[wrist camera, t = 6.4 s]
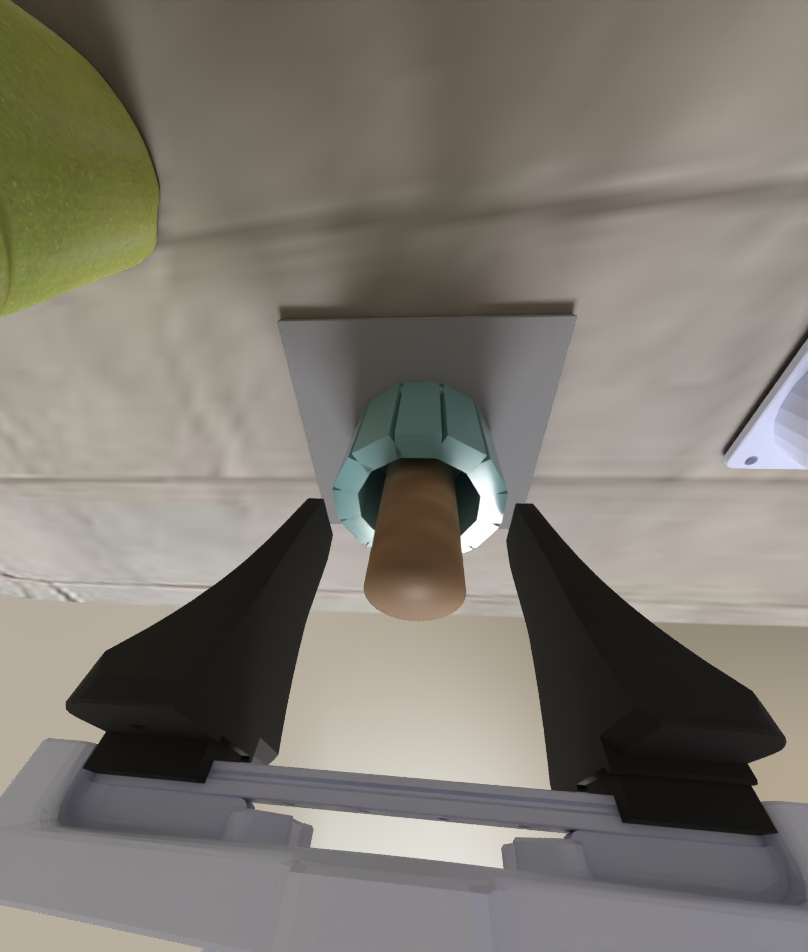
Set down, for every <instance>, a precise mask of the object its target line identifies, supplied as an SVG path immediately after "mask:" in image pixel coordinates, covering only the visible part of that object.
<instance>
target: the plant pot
mask: <svg viewBox="0 0 808 952" xmlns="http://www.w3.org/2000/svg"><path fill="white" fill-rule="evenodd" d="M159 197H160V193H159V186H158V182H157V178H156V174H155V171H154V168H153V165H152V162H151V159H150V156H149V154H148V151H147V149H146V146H145V144H144V142H143V139H142V138H141V136H140V134H139V132H138V130H137V128H136V126H135V124H134V122H133V120H132V119H131V117H130V115H129V114H128V112H127V111H126V109H125V108H124V106H123V104H122V103H121V101H120V100H119V99H118V97H117V96H116V95H115V93H114V92H113V90H112V89H111V88H110V86H109V85H108V84H107V83H106V81H105V80H104V79H103V78H102V77H101V75H100V74H99V73H98V72H97V71H96V69H95V68H94V67H93V66H92V65H91V64H90V63H89V62H88V61H87V60H86V59H85V58H84V57H83V56H82V55H80V54H79V53H78V52H77V51H76V50H75V49H74V48H73V47H71V46H70V45H69V44H68V43H67V42H66V41H65V40H63V39H62V38H61V37H59V36H58V35H57V34H56V33H54V32H53V31H52V30H51V29H49V28H48V27H46V26H45V25H44V24H42V23H41V22H40V21H38V20H37V19H36V18H34V17H33V16H31V15H30V14H29V13H27V12H26V11H25V10H23V9H22V8H20V7H19V6H18V5H16V4H15V3H13V2H12V1H11V0H0V318H1V317H4V316H7V315H9V314H12V313H14V312H17V311H19V310H22V309H25V308H27V307H30V306H32V305H35V304H38V303H40V302H43V301H45V300H48V299H51V298H53V297H56V296H58V295H60V294H63V293H65V292H68V291H71V290H73V289H76V288H78V287H81V286H84V285H86V284H89V283H91V282H94V281H96V280H99V279H102V278H105V277H108V276H111V275H113V274H116V273H118V272H121V271H123V270H126V269H129V268H132V267H134V266H136V265H138V264H139V263H141V262H142V261H143V260H144V259H146V258H147V257H148V256H149V255H150V253H151V252H152V251H153V249H154V247H155V245H156V242H157V217H158V203H159Z"/></svg>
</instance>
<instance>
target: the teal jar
mask: <svg viewBox="0 0 808 952" xmlns="http://www.w3.org/2000/svg"><path fill="white" fill-rule="evenodd" d="M399 458H437V459H439V460H441V461H443V462H445V463H447V464H449V465H451V466H453V470H454V480H455V490H456V499H457V509H458V519H459V528H460V538H461V548H462V553H465V552H468V551H471V550H472V547H474V548H477V547H478V546H479V545H480V544H481V543H482V542H483V541H484V540H485V539H487V538H488V537H489V536H490V535H491V534H492V533H493V532H494V531H495V530H496V529H498V528H499V524H501V523H502V518H503V514H504V510H505V505H506V501H507V496H508V492H507V487H506V483H505V480H504V477H503V473H502V470H501V466H500V463H499V459H498V456H497V453H496V449H495V446H494V442H493V439H492V435H491V432H490V429H489V427H488V425H487V423H486V421H485V419H484V417H483V415H482V413H481V411H480V409H479V407H478V405H477V403H475V404H474V401H473V399H471V398H469V397H467V396H466V395H464V394H462V393H460V392H459V391H457V390H455V389H453V388H452V387H450V386H448V385H446V384H445V383H444V384H443V385H441V384H439V382H404V384H402V385H400V383H399V384H397V385H395V386H394V387H392V388H390V389H389V390H387V391H385V392H383V393H382V394H380V395H378V396H376V397H375V398H373V399H371V401H370V403H368V404H367V406H366V408H365V410H364V412H363V414H362V416H361V418H360V420H359V422H358V424H357V426H356V428H355V430H354V432H353V435H352V438H351V440H350V443H349V445H348V448H347V451H346V453H345V456H344V458H343V461H342V463H341V466H340V469H339V471H338V474H337V476H336V479H335V482H334V484H333V489H332V492H333V496H334V501H335V505H336V510H337V514H338V519H341V523H342V524H343V525H344V526H345V527H346V528H347V529H348V530H349V531H350V532H351V533H352V534H353V535H354V536H355V537H356V538H357V539H358V540H359V541H360V542H361V543H362V544H364V543H367V545H366V547H369V548H371V547H372V542H373V537H374V532H375V527H376V522H377V517H378V512H379V507H380V502H381V497H382V492H383V487H384V482H385V477H386V472H387V467H388V463H390V462H392V461H394V460H397V459H399Z"/></svg>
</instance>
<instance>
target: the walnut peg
mask: <svg viewBox="0 0 808 952" xmlns="http://www.w3.org/2000/svg"><path fill="white" fill-rule="evenodd" d="M364 593H365V596H366V598H367V599H368V601H369V602H370V603H371V604H372V605H373V606H374V607H375V608H376V609H378V610H379V611H381V612H383V613H385V614H387V615H389V616H392V617H395V618H399V619H403V620H410V621H428V620H435V619H439V618H442V617H445V616H447V615H450V614H451V613H453V612H455V611H456V610H457V609H458V608H459V607H460V606H461V605H462V604H463V602H464V600H465V597H466V587H465V577H464V567H463V558H462V548H461V538H460V528H459V519H458V509H457V499H456V490H455V480H454V470H453V466H451V465H449V464H447V463H445V462H443V461H441V460H439V459H437V458H399V459H397V460H394V461H392V462H390V463H388V467H387V472H386V477H385V482H384V487H383V492H382V497H381V502H380V507H379V512H378V517H377V522H376V527H375V532H374V537H373V542H372V547H371V552H370V557H369V562H368V567H367V572H366V577H365V582H364Z"/></svg>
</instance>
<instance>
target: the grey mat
mask: <svg viewBox="0 0 808 952" xmlns="http://www.w3.org/2000/svg"><path fill="white" fill-rule="evenodd" d="M576 317H577V316H576V315H574V314H546V315H492V316H438V317H384V318H330V319H281V320H279V321H277V323H278V327H279V331H280V335H281V339H282V343H283V347H284V351H285V355H286V359H287V363H288V367H289V371H290V375H291V379H292V383H293V387H294V390H295V394H296V398H297V402H298V406H299V410H300V414H301V418H302V422H303V426H304V430H305V434H306V438H307V442H308V446H309V450H310V454H311V458H312V462H313V466H314V469H315V473H316V477H317V481H318V485H319V489H320V493H321V497H322V499H324V501H325V505H326V510H327V514H328V518H329V522H330V524H342V523H341V519H338V514H337V510H336V505H335V501H334V496H333V492H332V489H333V484H334V482H335V479H336V476H337V474H338V471H339V469H340V466H341V463H342V461H343V458H344V456H345V453H346V451H347V448H348V445H349V443H350V440H351V438H352V435H353V432H354V430H355V428H356V426H357V424H358V422H359V420H360V418H361V416H362V414H363V412H364V410H365V408H366V406H367V404H368V403H370V401H371V399H373V398H375V397H376V396H378V395H380V394H382V393H383V392H385V391H387V390H389V389H390V388H392V387H394V386H395V385H397V384H399V383H400V385H402V384H404V382H439V384H441V385H443V384H444V383H445V384H446V385H448V386H450V387H452V388H453V389H455V390H457V391H459V392H460V393H462V394H464V395H466V396H467V397H469V398H471V399H473V401H474V404H475V403H477V405H478V407H479V409H480V411H481V413H482V415H483V417H484V419H485V421H486V423H487V425H488V427H489V429H490V432H491V435H492V439H493V442H494V446H495V449H496V453H497V456H498V459H499V463H500V466H501V470H502V473H503V477H504V480H505V483H506V487H507V492H508V496H507V501H506V505H505V510H504V514H503V518H502V523H501V524H499V528H498V529H509V528H510V524H511V520H512V516H513V512H514V508H515V504H516V503H523V504H525V502H526V498H527V495H528V491H529V487H530V484H531V480H532V477H533V473H534V469H535V466H536V462H537V459H538V455H539V451H540V448H541V444H542V440H543V437H544V433H545V430H546V426H547V422H548V419H549V415H550V412H551V408H552V404H553V401H554V397H555V393H556V390H557V386H558V383H559V379H560V375H561V372H562V368H563V365H564V361H565V357H566V354H567V350H568V346H569V343H570V339H571V336H572V332H573V328H574V325H575V321H576Z"/></svg>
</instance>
